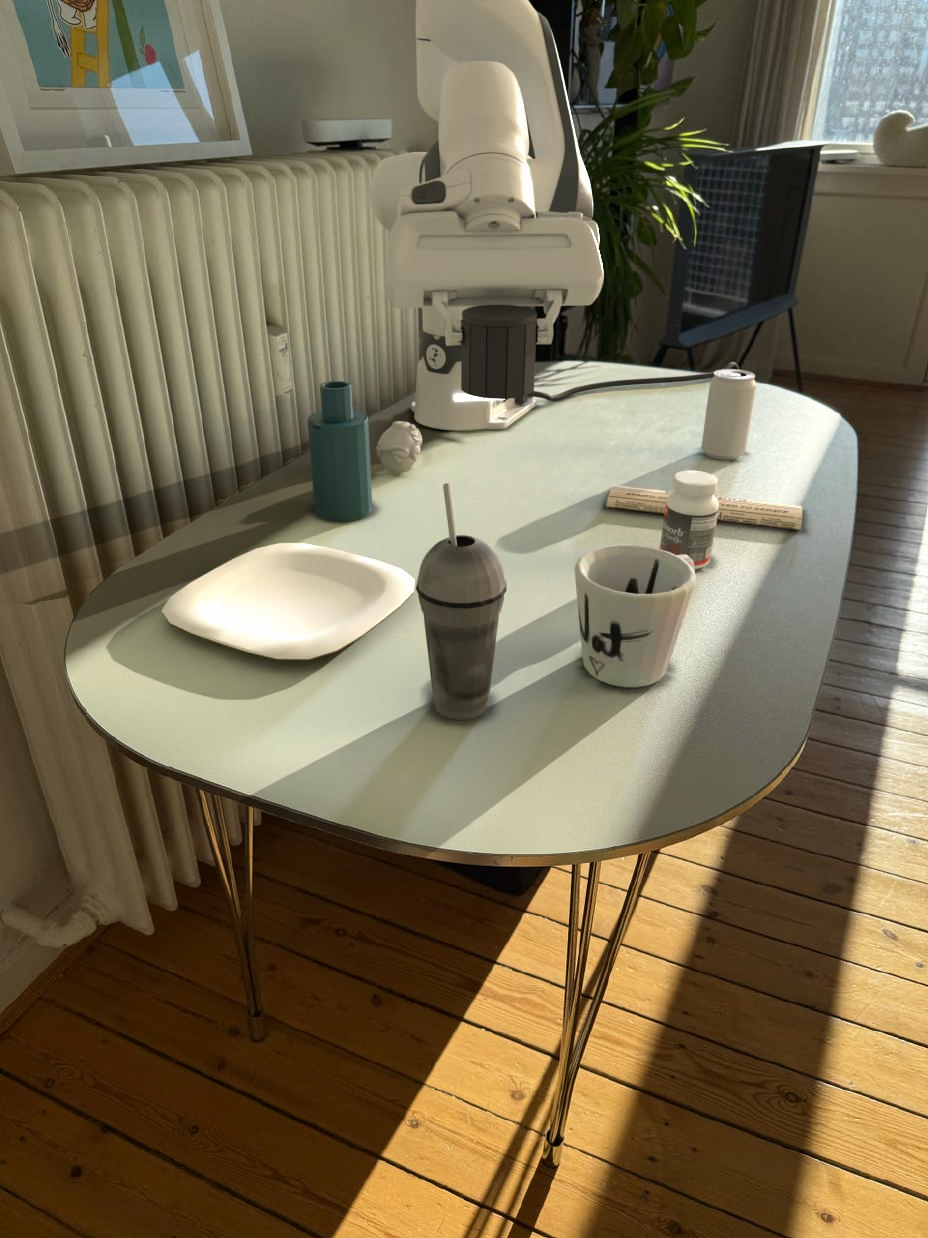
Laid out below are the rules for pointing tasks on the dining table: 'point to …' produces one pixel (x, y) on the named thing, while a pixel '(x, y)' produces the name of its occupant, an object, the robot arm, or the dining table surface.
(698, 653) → the dining table surface
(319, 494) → the flask
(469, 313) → the flask lid
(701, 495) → the pill bottle
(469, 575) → the beverage cup
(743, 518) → the newspaper
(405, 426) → the cream lumpy ball
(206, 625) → the plate
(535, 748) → the dining table surface
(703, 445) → the beverage can
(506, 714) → the dining table surface
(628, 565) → the mug
